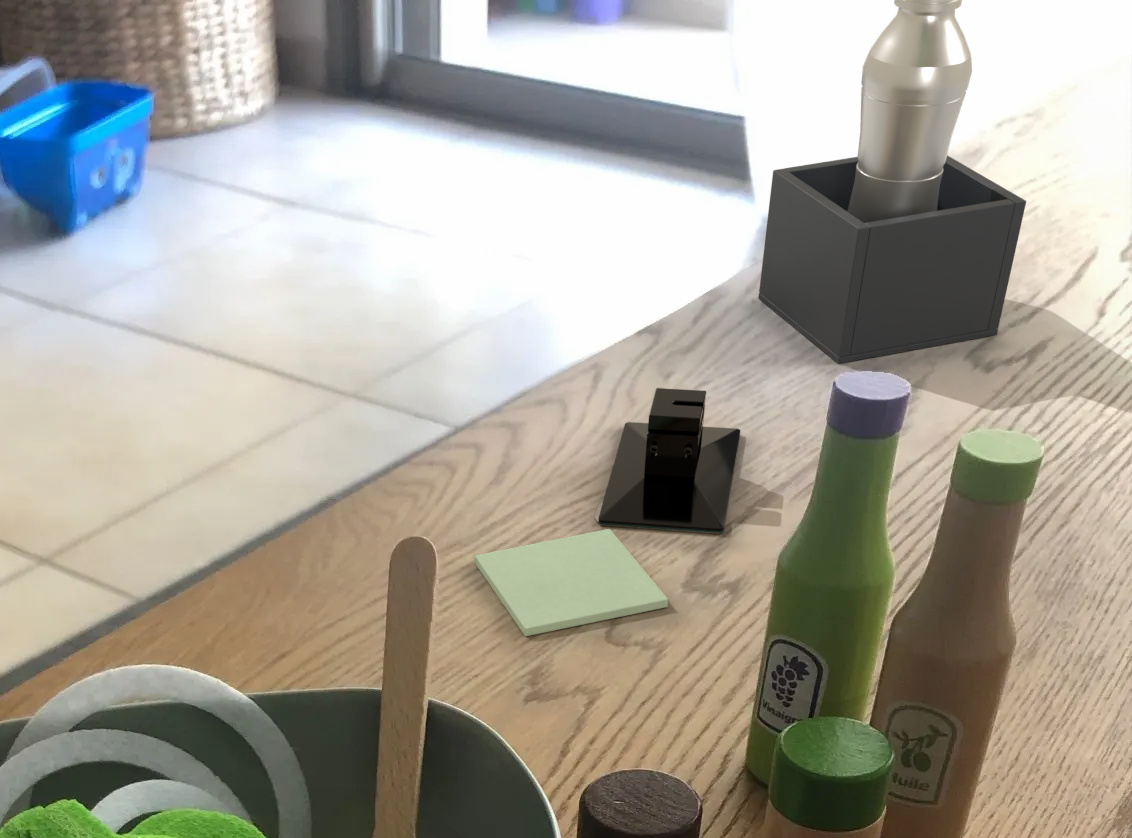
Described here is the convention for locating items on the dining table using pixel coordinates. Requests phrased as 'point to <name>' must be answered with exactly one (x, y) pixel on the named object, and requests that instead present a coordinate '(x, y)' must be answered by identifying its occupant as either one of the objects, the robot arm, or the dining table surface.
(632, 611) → the mat
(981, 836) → the dining table surface
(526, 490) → the dining table surface
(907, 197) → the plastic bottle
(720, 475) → the black piece
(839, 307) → the open box
